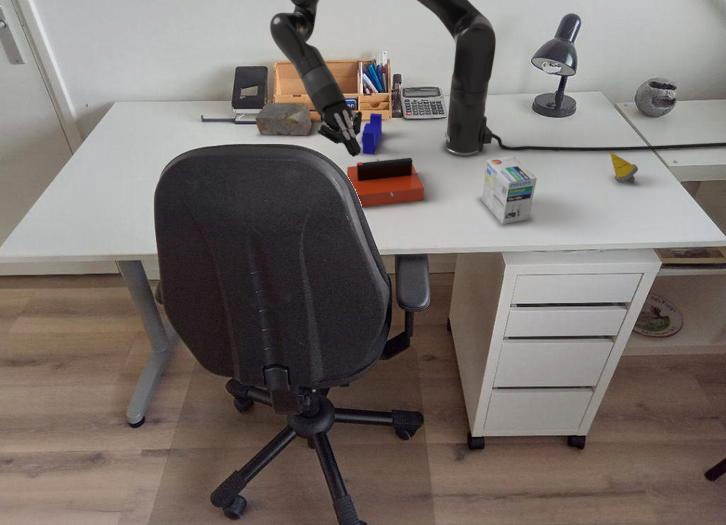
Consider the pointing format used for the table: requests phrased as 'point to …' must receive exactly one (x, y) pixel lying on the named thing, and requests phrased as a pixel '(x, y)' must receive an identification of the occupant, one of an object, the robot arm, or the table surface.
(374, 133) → the cable clip
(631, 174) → the yellow cone
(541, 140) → the table surface
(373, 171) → the black divider wall
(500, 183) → the light bulb box
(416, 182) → the red flat rectangular block
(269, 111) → the geological specimen
